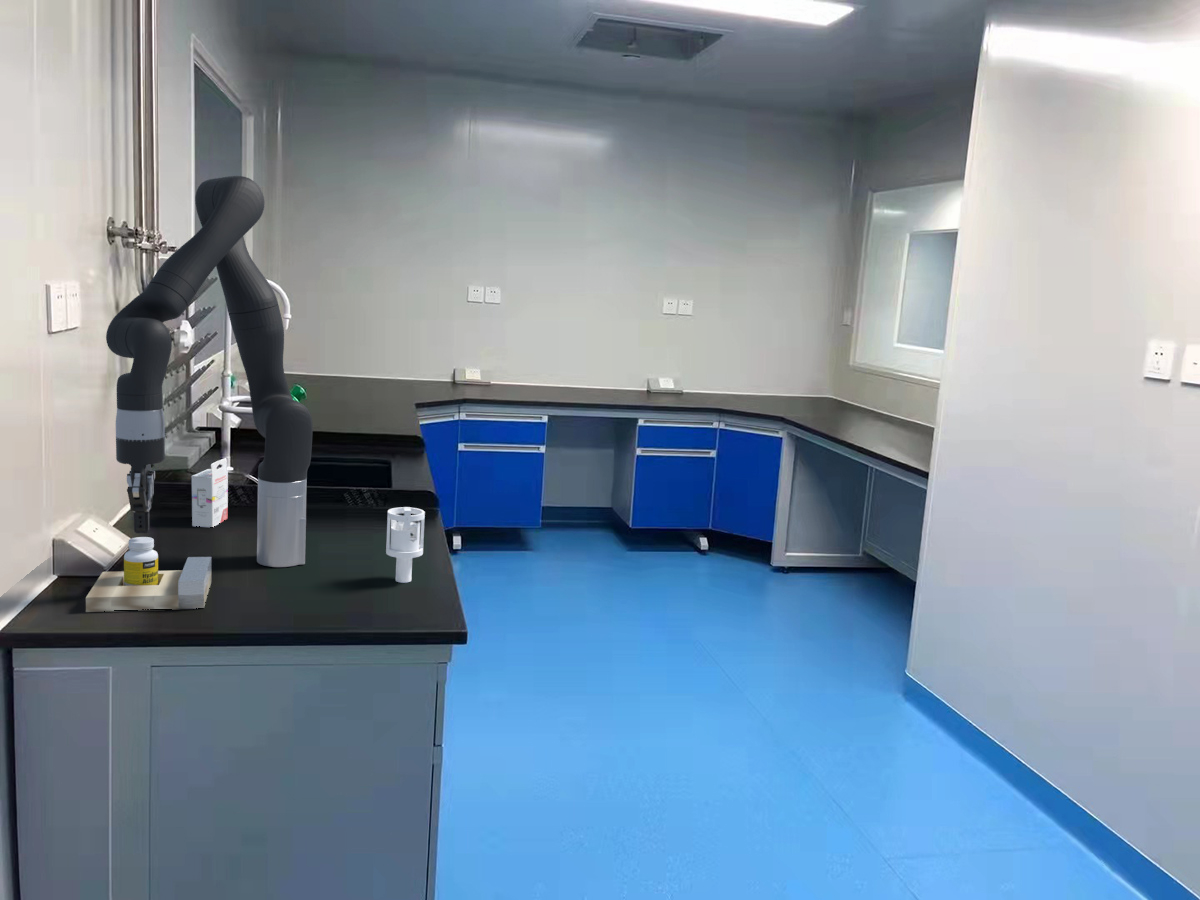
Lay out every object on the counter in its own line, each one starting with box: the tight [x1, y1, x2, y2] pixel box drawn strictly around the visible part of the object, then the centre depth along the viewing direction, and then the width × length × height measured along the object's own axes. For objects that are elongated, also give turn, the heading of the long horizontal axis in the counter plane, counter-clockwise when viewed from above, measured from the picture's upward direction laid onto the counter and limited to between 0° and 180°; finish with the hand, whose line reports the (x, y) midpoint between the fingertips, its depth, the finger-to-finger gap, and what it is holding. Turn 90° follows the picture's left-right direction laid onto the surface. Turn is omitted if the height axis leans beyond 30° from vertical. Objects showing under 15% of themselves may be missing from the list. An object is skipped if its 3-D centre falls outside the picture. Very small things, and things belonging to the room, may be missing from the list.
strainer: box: [385, 506, 426, 584], centre depth 181 cm, size 7×7×15 cm
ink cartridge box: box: [191, 457, 229, 528], centre depth 211 cm, size 9×5×15 cm, turn 179°
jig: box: [85, 556, 212, 613], centre depth 162 cm, size 18×14×5 cm
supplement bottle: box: [123, 536, 159, 586], centre depth 163 cm, size 5×5×10 cm
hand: (142, 531), depth 162 cm, fingers closed
